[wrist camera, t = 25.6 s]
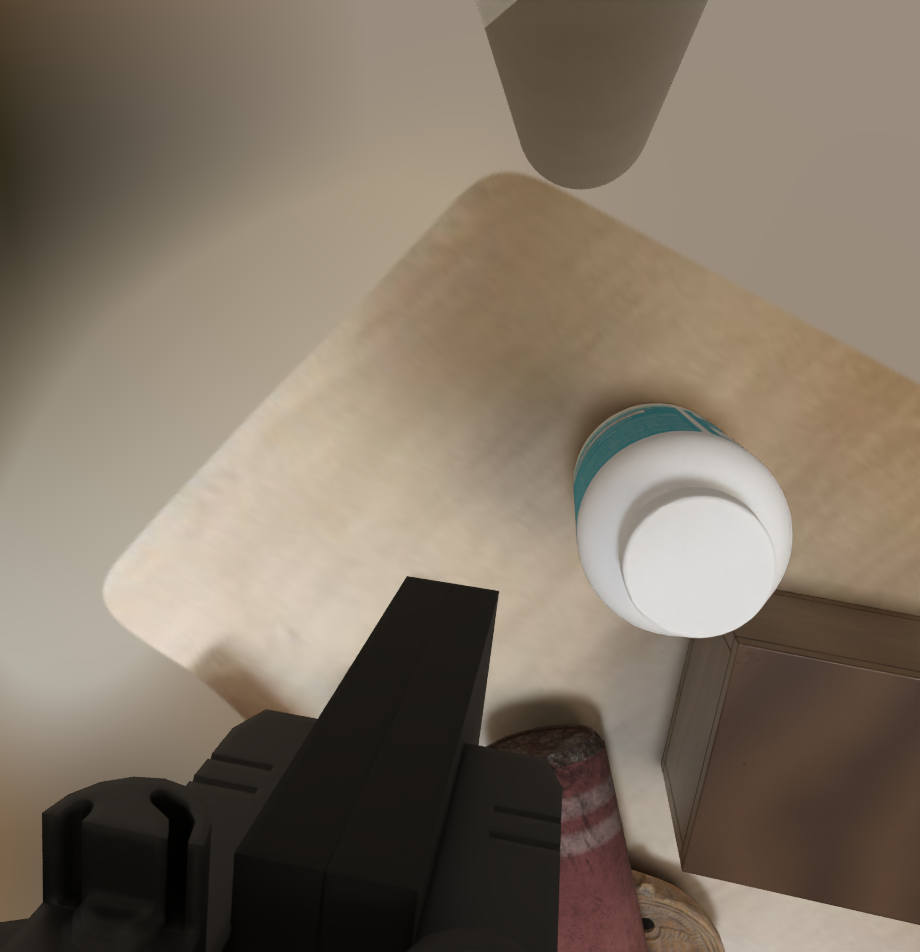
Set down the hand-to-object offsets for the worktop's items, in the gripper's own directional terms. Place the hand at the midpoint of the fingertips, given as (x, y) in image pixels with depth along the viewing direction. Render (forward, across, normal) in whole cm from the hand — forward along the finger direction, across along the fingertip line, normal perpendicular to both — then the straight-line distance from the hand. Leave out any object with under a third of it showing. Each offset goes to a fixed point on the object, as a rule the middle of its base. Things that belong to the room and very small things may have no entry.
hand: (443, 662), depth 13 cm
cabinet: (+26, +15, -12) cm, 32 cm away
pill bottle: (+26, +6, -2) cm, 27 cm away
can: (+23, +3, -14) cm, 27 cm away
